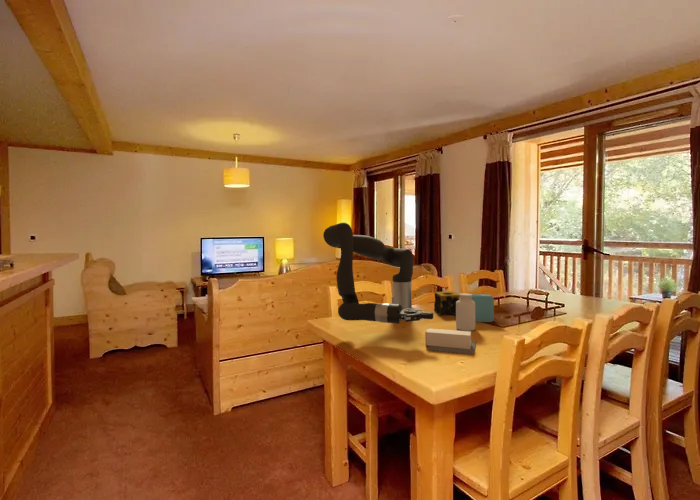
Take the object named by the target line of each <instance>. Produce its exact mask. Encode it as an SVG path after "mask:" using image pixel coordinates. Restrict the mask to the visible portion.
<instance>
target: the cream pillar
mask: <svg viewBox="0 0 700 500" xmlns="http://www.w3.org/2000/svg"><path fill="white" fill-rule="evenodd" d="M424 335H425V337H424V338H425V339H424V341H425V346H441V347H452V348H463V349H470V348H471V341H472V331H462V330H457V329H456V330H455V329H441V328H426V330H425V334H424Z"/></svg>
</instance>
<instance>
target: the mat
mask: <svg viewBox="0 0 700 500" xmlns="http://www.w3.org/2000/svg"><path fill="white" fill-rule="evenodd" d="M476 344H477V341H476V340H471V348H470V349H463V348H452V347H441V346H430V345H428V348H427V351H428V350H433V351H432V352H439V351H442V353H449V352H452V354H460V353H462V355H470V354H474V355H475V352H474V351H476Z"/></svg>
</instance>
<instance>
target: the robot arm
mask: <svg viewBox="0 0 700 500" xmlns="http://www.w3.org/2000/svg"><path fill="white" fill-rule="evenodd" d="M322 236H323V239H324V242H325V243H326V244H327V245H328V246H329V247H332V248H336V249H340V257H339V263H338V267H337V270H336V282H337V283H336V284H337V285H336V287H337V293H338V295H339V296H340V297H341V300H342V303H341V304H339V306H338V308H337V313H338V316H339V317H340V318H341V319H342V320H344V321H368V322H378V323H387V324H395V325H396V324H397V325H398V324H401V322H402V320H404V321H405V322H406V323H408V322H417V321H421V320H423V319H424V320H433V319H434V312H430V311H429V312H428V311H427V312H426V311H423V310H422V309H418V308H415V307H413V306H412V305H413V303H412V302H413V301H412V300H413V298H412V295H413V294H412V290H413V289H412V277H413V274H414V272H413V271H414V254H413V252H412V249H409V248H397V247H396V248H395V247H391V246H387V245H385V243H384V242H383V241H381V239H378V238H375V237H373V236H370V235H362V234H354V233H353V229H352V227H351V225H350V224H349V223H347V222H344V221H343V222H339V223H337V224H333V225H330V226H328V227H327V228H325V229H324V231H323V234H322ZM354 253H355V254H359V255H361V256H364V257H366V258H368V259H373V260H378V261H382V262H384V263H386V264H388V265H390V266H392V267H395V268H399V271H398V273H396V274H394V275H393V276H392V296H391V303H389V302H388V303H387V302H386V303H385V302H382V303H375V302H373V303H372V302H369V303H368V302H367V303H360V301H359V298H358V295H357V293H356V287H355V285H356V284H355V278H354V270H353V269H354V266H353V265H354V263H353V262H354V261H353V259H354V258H353V257H354Z"/></svg>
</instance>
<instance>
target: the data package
mask: <svg viewBox="0 0 700 500" xmlns="http://www.w3.org/2000/svg"><path fill="white" fill-rule="evenodd" d="M471 294H472V293H471ZM471 300H472V301H474V302H475V323H493V322H494V320H495V311H494V310H495V299H494V297H493V296H492V295H491V294H489V293H488V294H485V293H483V294H481V293H479V294H478V293H477V294H476V293H475V294H472V299H471Z"/></svg>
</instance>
